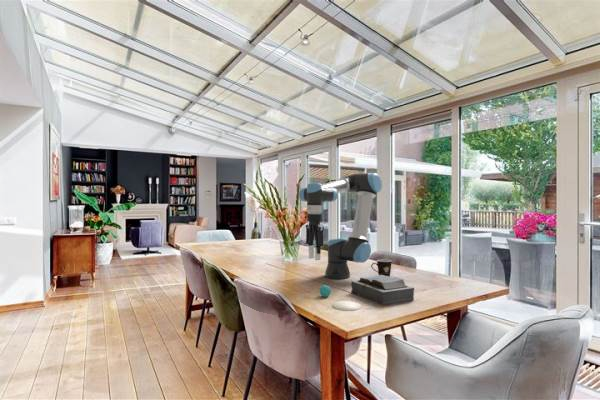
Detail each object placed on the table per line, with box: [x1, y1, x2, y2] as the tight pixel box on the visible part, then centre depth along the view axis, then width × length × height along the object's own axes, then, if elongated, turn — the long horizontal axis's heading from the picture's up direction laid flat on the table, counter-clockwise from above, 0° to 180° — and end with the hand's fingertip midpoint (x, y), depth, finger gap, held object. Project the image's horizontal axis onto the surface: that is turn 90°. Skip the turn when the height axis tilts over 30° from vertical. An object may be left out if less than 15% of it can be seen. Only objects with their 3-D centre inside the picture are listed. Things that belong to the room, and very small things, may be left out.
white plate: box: [331, 300, 362, 312], centre depth 155 cm, size 13×13×1 cm
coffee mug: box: [371, 258, 392, 277], centre depth 211 cm, size 12×9×10 cm
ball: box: [319, 284, 332, 298], centre depth 169 cm, size 6×6×6 cm
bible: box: [350, 274, 415, 306], centre depth 170 cm, size 23×27×10 cm
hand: (314, 259), depth 178 cm, fingers open, 5 cm apart
